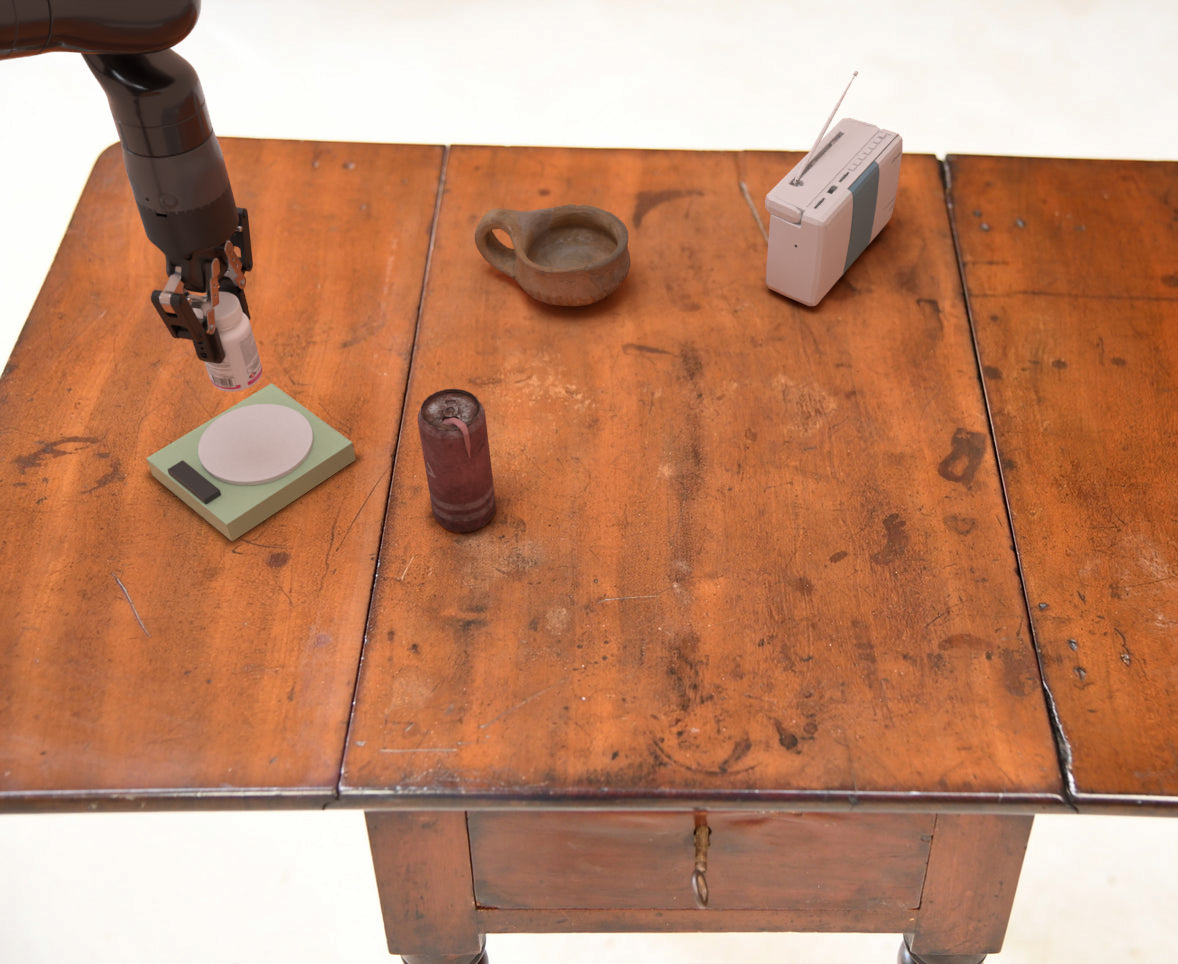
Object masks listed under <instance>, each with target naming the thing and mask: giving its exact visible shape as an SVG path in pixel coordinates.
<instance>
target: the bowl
mask: <svg viewBox="0 0 1178 964" xmlns="http://www.w3.org/2000/svg"><path fill="white" fill-rule="evenodd" d="M493 230H501V231H502V232H504V233H506V235H508V237H509V239H510V241H511V243H512V247H513V248H511V247H508V246H507V245H505V244H504V243H502V241H500V240H499V239H498V237H497V236H496V235H495V233H494V231H493ZM474 243H475V245H476V246H475V247H476V249H477V250H478V252H479V254H480V255H481V256H482V258H483V259H484V261H486V262H487V263H488V264H489V265H490V266H492V267H493V268H494V269H495V270H497V271H498V272H501V273H503V274H504V275H507V276H508V277H509V278H512V279H513V280H514V281H515V282H516V283H517V284H518V286H520V287H521V289H522V290H523V291H524V292H525V293H526V294H527V295H529V296H531V298H532V299H534V300H537V301H539V302H541V303H544V304H545V303H546V304H548V305H552V306H565V307H580V306H588V305H592V304H594V303H597V302H598V301H603V300H604V299H605V298H606V297H607V296H610V295H611V294H613V293H614V292H615V290H617V289H619V287H620V285H621V284H622V283H623V282H624V281H625V279H626V278H627V277H628V275H629V273H630V268H631V256H630V255H631V254H630V251H629V247H628V244H629V231H628V228H627V226H626V224H625V223H624V222H623V221H622V220H621V219H620V218H619V217H618V216H617V215H616V214H613V213H612V212H611V211H608V210H604V209H602V208H599V207H596V206H593V205H587V204H579V205H576V204H574V203H568V204H566V205H559V206H554V207H551V208H550V207H549V208H548V207H547V208H539V209H532V210H523V211H522V210H514V209H510V208H509V209H507V208H499V207H498V208H493V209H490V210H488V211H486V213H485V214H484V215H483V216H482V217H481V219H480V220H479V222H478V223H477V224H476V227H475V231H474Z"/></svg>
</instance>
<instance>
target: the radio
mask: <svg viewBox="0 0 1178 964" xmlns="http://www.w3.org/2000/svg"><path fill="white" fill-rule="evenodd" d="M858 74H859V71H858V70H854V72H853V73H852V75H853V76H852V78H851V80H850V81H849V83H848V85H847V86H846V88H845V90H844V91H843V92H842V94H841V96H840V98H839V100H838V101H837V102H836V103H835V106H834V108H833V110H832V111H831V113H830V115H829V116H828V118H827V120H826V122H825V123H824V125H823V127H822V128H821V131H820V133H819V134H818V136H817V138H816V139H815V141H814V143H813V145H812V147H811V148H810V150H809V151H808V153H807V154H806V155H805V156H804V157H803V158H802V159H800V161H799V162H798V163H797V164H796V165H795V166H794V167H793V168H792V169H790V171H789V172H788V173H787V174H786V175H785V176H784V177H783V178H781V180H780V181H778V183H777V184H776V185H775V186H773V188H772V189H771V190H770V191H769V192H768V193H767V194H766V195H765V199H764V205H765V209H766V211H767V213H769V214H770V216H769V229H768V243H767V255H766V257H767V258H766V268H765V286H766V287H767V289H769V290H772V291H773V292H775V293H777V294H780V295H782V296H784V297H787V298H789V299H791V300H794V301H796V302H798V303H801V304H803V305H804V306H807V307H815V306H817V305H818V304H819V303H820V302H821V301H822V299H824V297H825V296H826V295H827V293H828V292H829V291H830V290H831V289H832V288H833V286H834V285H836V283H837V282H838V281H839V279H841V277H842V276H843V275H844V274H845V273H846V271H848V269H849V268H850V267H851V266H852V265H853V264H854V262H855V261H856V260H857V259H858V258H859V257H860V256H861V254H862V253H863V252H864V251H865V250H866V248H867V247H868V246H869V245H870V244H871V243H872V242H873V240H874V239H875V238H876V237H877V236H878V235H879V234H880V232H881V231H882V230H883V229H884V227H886V225H888V223H889V222H890V220H891V219H892V216H893V212H894V208H895V203H896V198H897V194H898V188H899V187H898V186H899V179H900V173H901V166H902V158H903V157H902V156H903V147H904V145H903V144H904V143H903V142H904V141H903V137H902V136H901V135H900V134H899V133H897V132H895V131H891V130H888V129H886V128H882V129H881V128H880V127H878V126H877V125H876V124H872V123H869V122H866V121H862V120H858V119H855V118H851V117H847V118H846V117H845V118H844V117H843V118H841V119H840V120H839V122H838V123H836V124H835V126H834V127H832V128H831V129H830V130H829V131H828V133H827V134H826V131H827V130H828V128H829V127H830V124H831V123H832V121H833V119H834V117H835V115H836V113H837V111H838V109H839V108H840V106H841V103H842V101H843V100H844V98H845V96H846V94H847V92H848V90H849V89H850V87H851V86H852V82H853V80H854V79H855V77H857V76H858ZM825 134H826V135H825Z"/></svg>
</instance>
